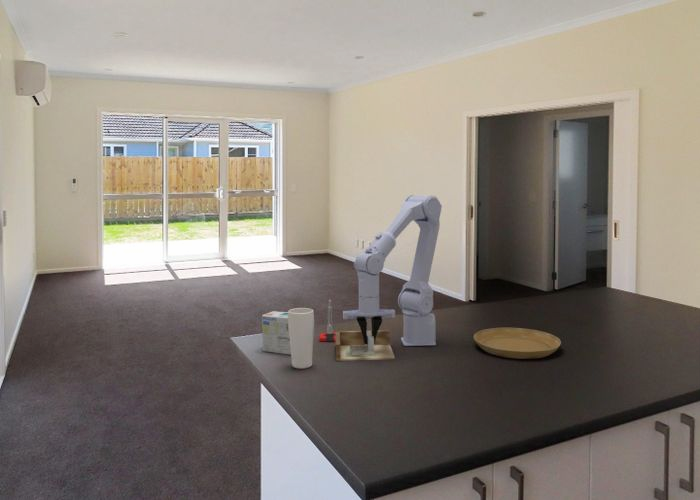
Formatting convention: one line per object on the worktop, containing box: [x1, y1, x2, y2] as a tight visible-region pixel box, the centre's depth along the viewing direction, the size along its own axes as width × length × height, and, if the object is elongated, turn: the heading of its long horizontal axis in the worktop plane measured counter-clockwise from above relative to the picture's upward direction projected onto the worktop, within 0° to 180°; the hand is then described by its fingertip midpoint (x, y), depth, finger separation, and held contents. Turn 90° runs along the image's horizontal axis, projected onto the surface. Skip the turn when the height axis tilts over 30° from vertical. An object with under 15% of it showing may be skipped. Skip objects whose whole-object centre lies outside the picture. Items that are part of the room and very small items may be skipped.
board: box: [335, 344, 396, 362], centre depth 163 cm, size 16×14×1 cm
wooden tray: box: [334, 329, 391, 360], centre depth 163 cm, size 16×14×4 cm
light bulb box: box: [261, 310, 291, 356], centre depth 166 cm, size 11×7×11 cm, turn 65°
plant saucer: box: [473, 327, 562, 360], centre depth 165 cm, size 24×24×3 cm
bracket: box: [350, 330, 374, 356], centre depth 161 cm, size 7×6×5 cm
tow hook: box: [318, 299, 336, 343], centre depth 178 cm, size 8×13×9 cm
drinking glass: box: [287, 307, 315, 370], centre depth 151 cm, size 7×7×15 cm
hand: (369, 343), depth 162 cm, fingers closed on bracket
